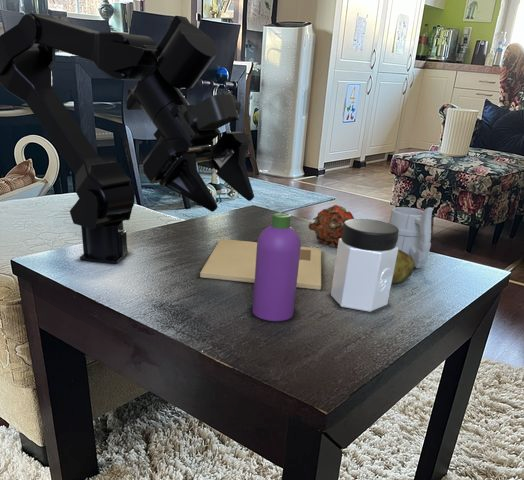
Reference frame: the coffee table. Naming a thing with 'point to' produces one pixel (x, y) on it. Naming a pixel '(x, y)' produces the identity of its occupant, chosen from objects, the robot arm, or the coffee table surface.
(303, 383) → the coffee table surface
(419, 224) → the mug
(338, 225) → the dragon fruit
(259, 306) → the purple bottle
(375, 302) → the jar
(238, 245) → the cork mat
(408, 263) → the potato
